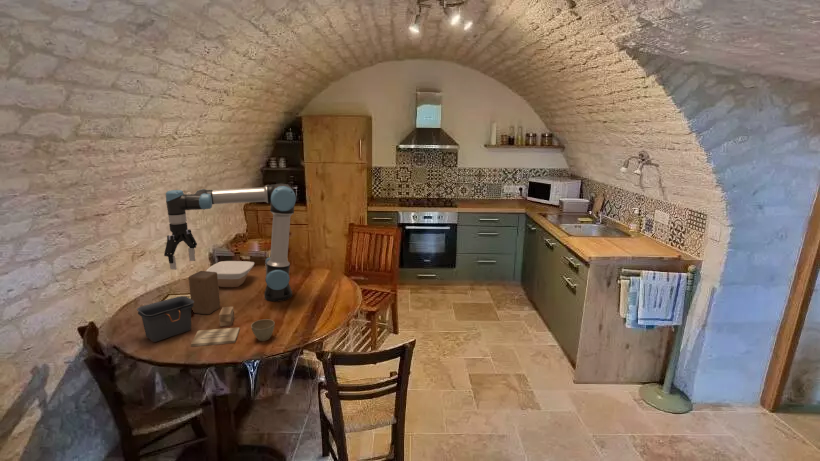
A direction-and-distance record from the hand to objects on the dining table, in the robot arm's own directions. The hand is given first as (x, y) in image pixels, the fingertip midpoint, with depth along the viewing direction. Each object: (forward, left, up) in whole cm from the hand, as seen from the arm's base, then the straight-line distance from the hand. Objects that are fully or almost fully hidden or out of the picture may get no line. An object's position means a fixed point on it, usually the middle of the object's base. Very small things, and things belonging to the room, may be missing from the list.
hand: (183, 264), depth 212 cm
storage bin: (+3, +21, -27) cm, 34 cm away
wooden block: (-7, -4, -27) cm, 28 cm away
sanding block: (-20, +13, -27) cm, 36 cm away
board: (-18, +28, -27) cm, 43 cm away
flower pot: (-39, +33, -27) cm, 58 cm away
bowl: (-13, -43, -27) cm, 53 cm away
